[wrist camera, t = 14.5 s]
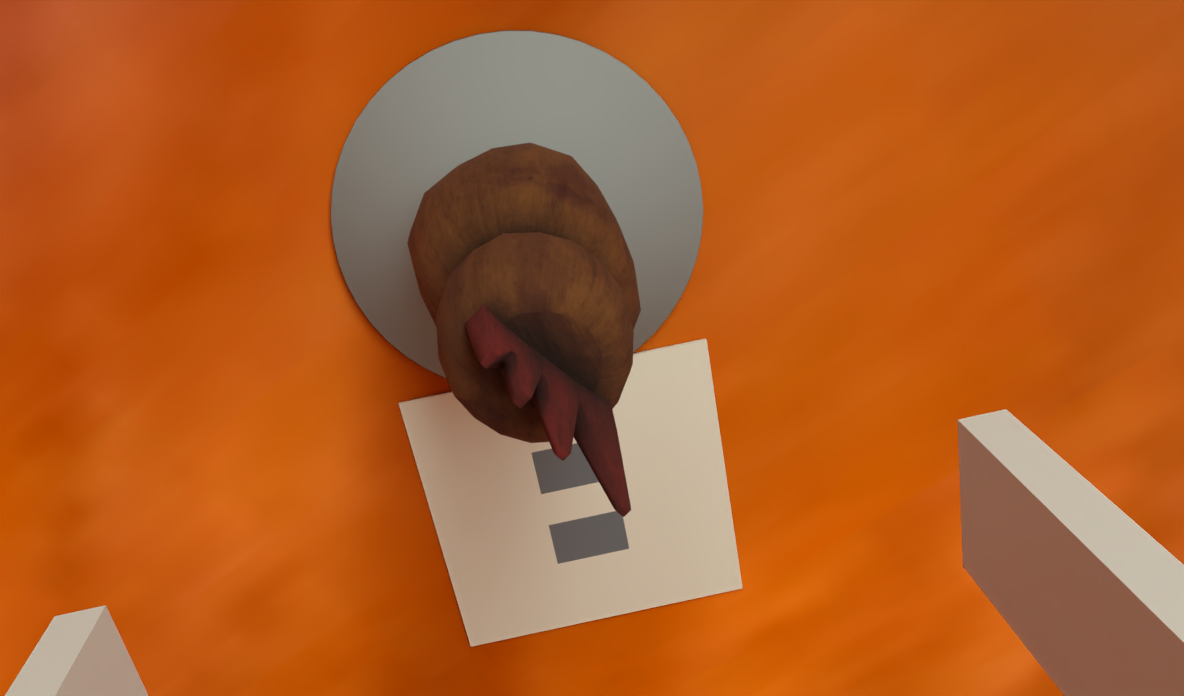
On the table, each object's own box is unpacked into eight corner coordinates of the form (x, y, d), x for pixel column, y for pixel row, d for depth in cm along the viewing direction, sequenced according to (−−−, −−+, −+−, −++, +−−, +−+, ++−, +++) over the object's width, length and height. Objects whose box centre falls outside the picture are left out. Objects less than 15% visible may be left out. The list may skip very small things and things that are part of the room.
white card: (470, 645, 39) (470, 646, 38) (398, 402, 34) (398, 403, 34) (741, 586, 39) (742, 588, 39) (705, 338, 34) (706, 339, 34)
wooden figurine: (643, 275, 33) (760, 528, 19) (490, 349, 33) (496, 646, 20) (555, 90, 30) (617, 229, 16) (389, 173, 30) (315, 375, 17)
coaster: (388, 417, 34) (387, 423, 34) (283, 72, 29) (281, 75, 29) (721, 348, 35) (724, 352, 34) (672, -6, 30) (674, -5, 29)
